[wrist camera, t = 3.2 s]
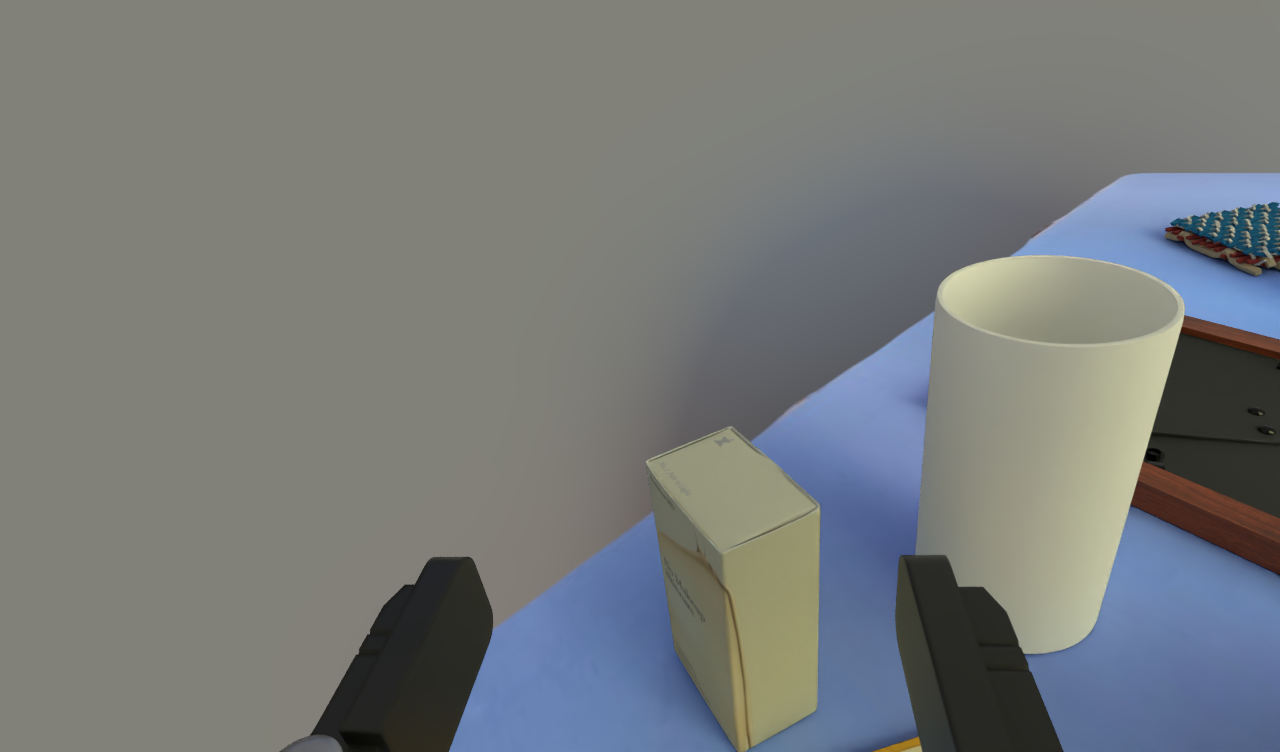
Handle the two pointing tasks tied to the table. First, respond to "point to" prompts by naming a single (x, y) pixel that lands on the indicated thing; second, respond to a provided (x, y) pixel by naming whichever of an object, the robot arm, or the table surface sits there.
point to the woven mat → (1234, 236)
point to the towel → (903, 746)
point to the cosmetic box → (740, 581)
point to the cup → (1041, 430)
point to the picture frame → (1218, 442)
